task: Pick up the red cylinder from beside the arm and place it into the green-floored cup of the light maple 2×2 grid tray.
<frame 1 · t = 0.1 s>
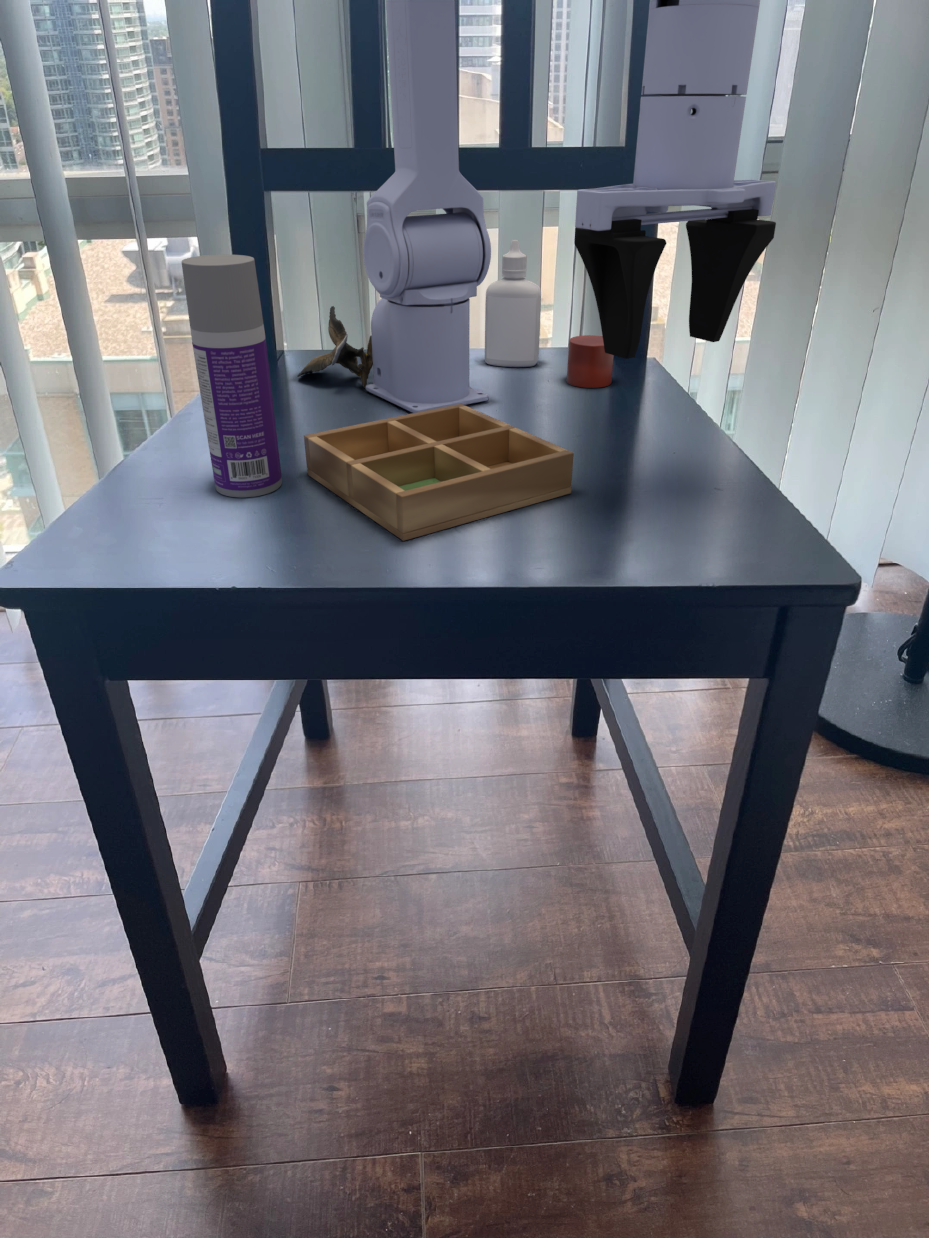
hand: (663, 346, 54), 10 cm above the table, tool pointing down, fingers open, 7 cm apart
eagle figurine: (341, 382, 85), on the table, touching arm
container: (249, 487, 61), on the table
eye dropper bottle: (511, 365, 90), on the table
grid: (436, 483, 61), on the table
red cylinder: (588, 382, 84), on the table
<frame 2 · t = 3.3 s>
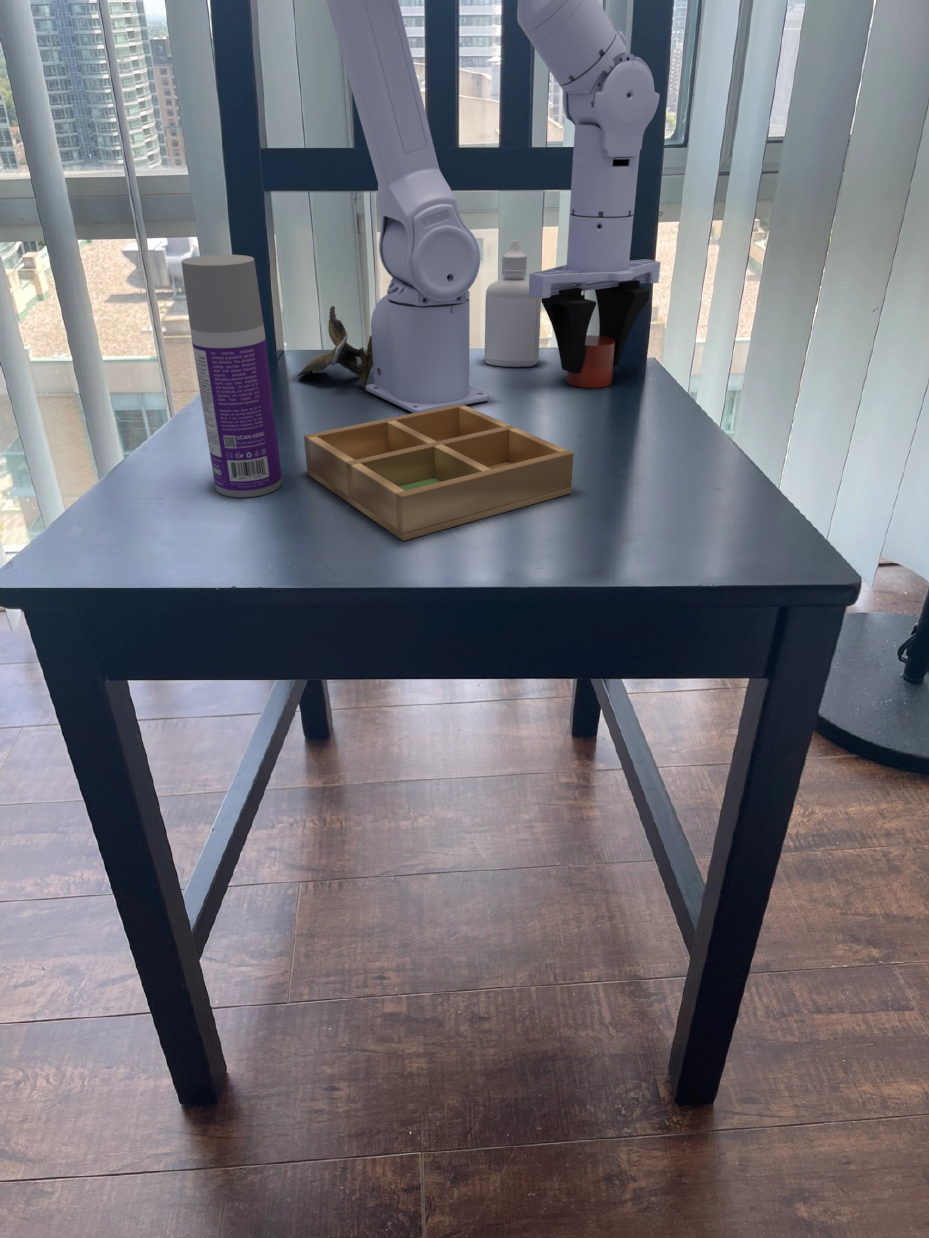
hand: (589, 367, 84), 1 cm above the table, tool pointing down, fingers closed on red cylinder, 4 cm apart
red cylinder: (589, 382, 84), on the table, touching gripper
everything else where it was.
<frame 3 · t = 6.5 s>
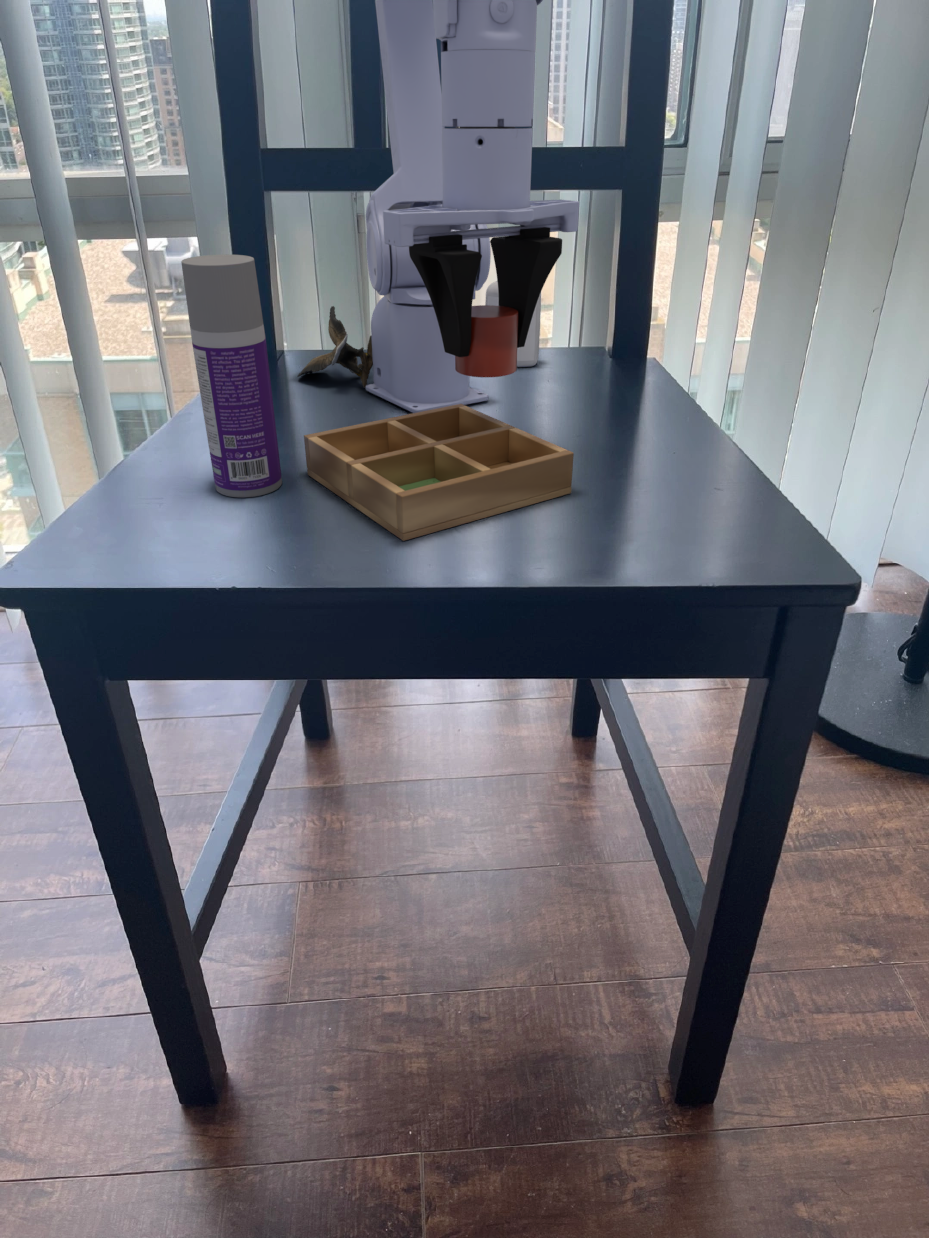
hand: (484, 349, 60), 8 cm above the table, tool pointing down, fingers closed on red cylinder, 4 cm apart
red cylinder: (485, 369, 61), point 7 cm above the table, touching gripper
everything else where it was.
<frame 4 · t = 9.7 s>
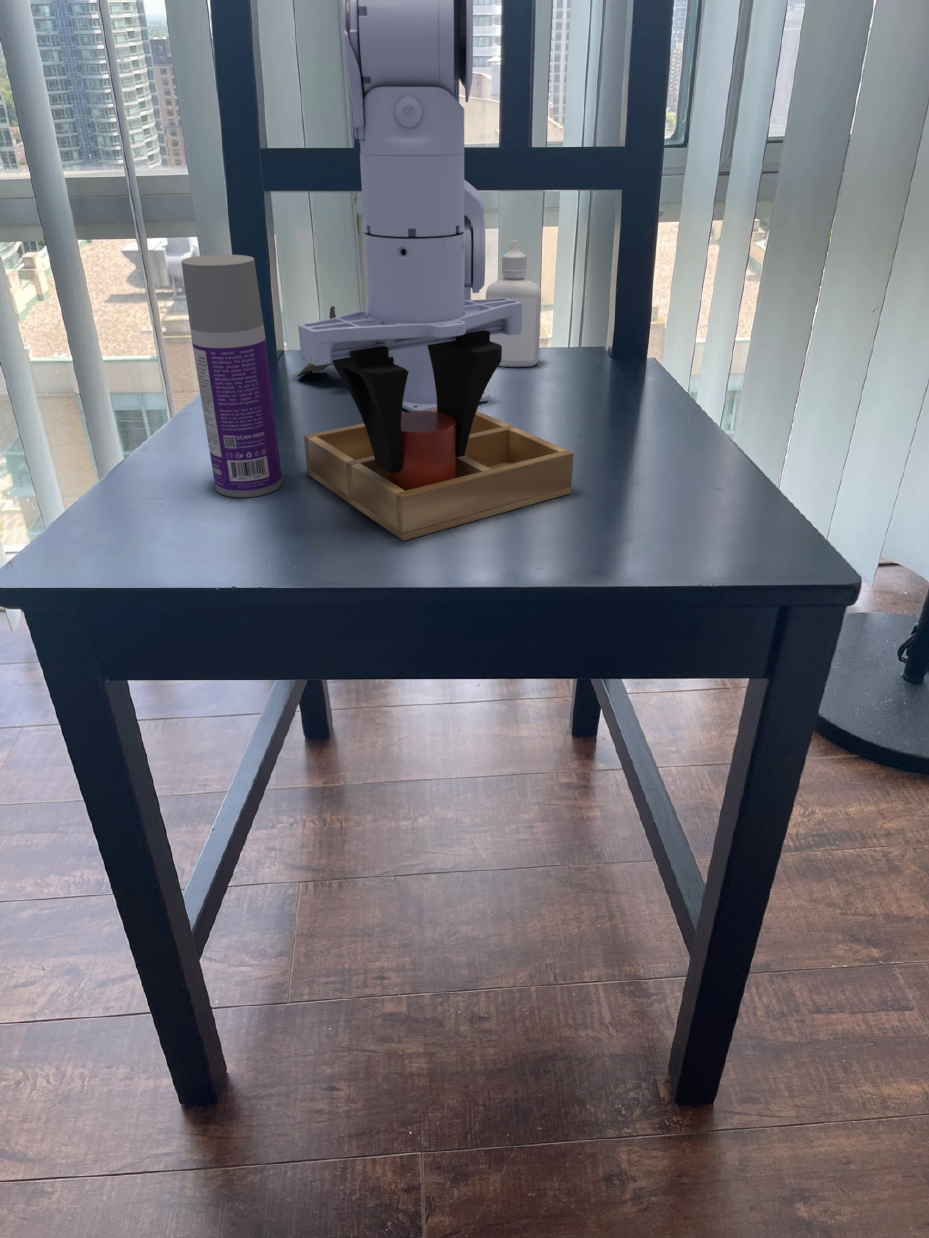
hand: (420, 460, 56), 3 cm above the table, tool pointing down, fingers closed on red cylinder, 4 cm apart
red cylinder: (422, 480, 56), point 2 cm above the table, touching gripper
everything else where it was.
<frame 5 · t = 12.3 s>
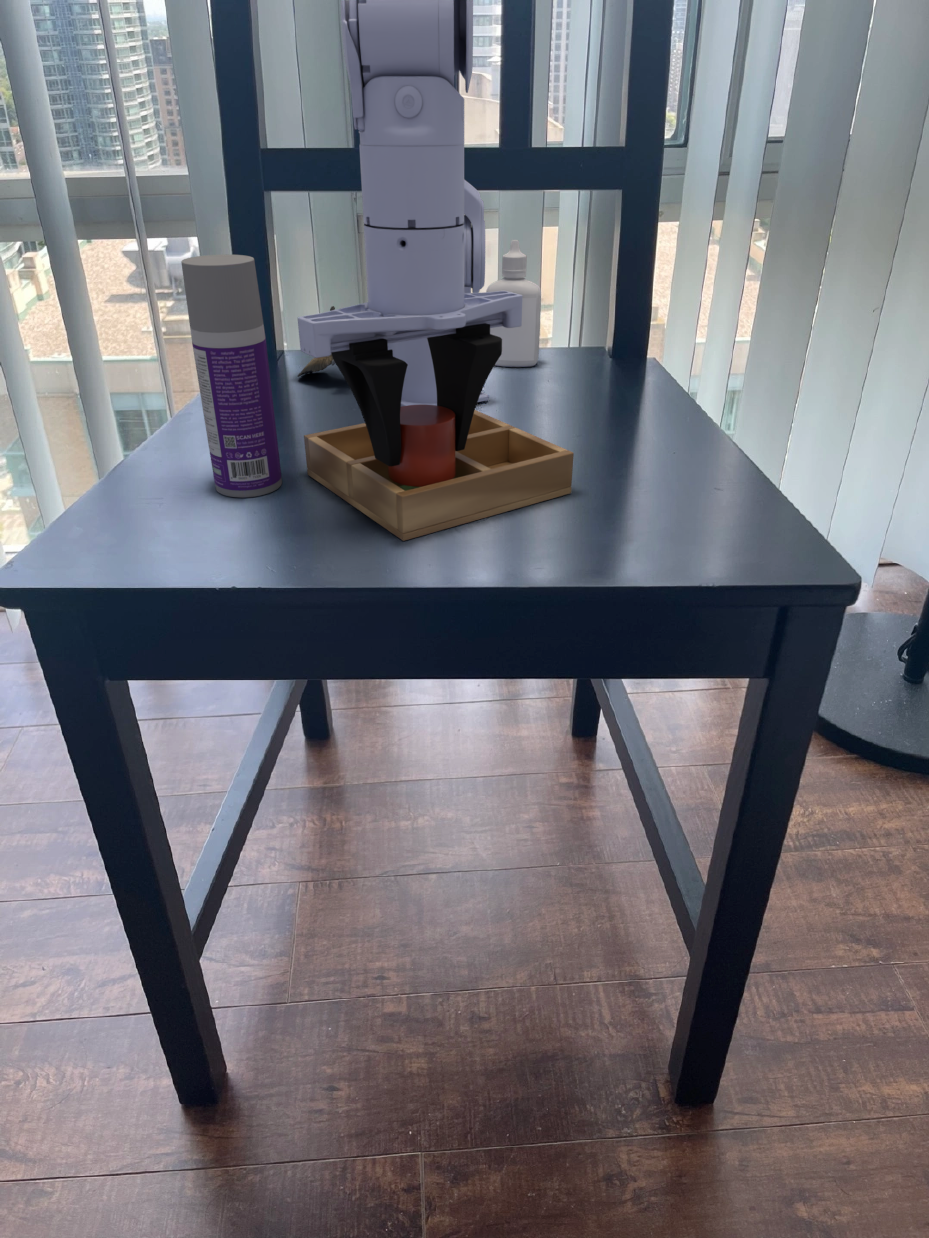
hand: (420, 453, 55), 4 cm above the table, tool pointing down, fingers closed on red cylinder, 4 cm apart
red cylinder: (422, 474, 56), point 3 cm above the table, touching gripper
everything else where it was.
when the fingers open (4 cm above the table, at t = 14.5 s): red cylinder drops 2 cm, resting on grid.
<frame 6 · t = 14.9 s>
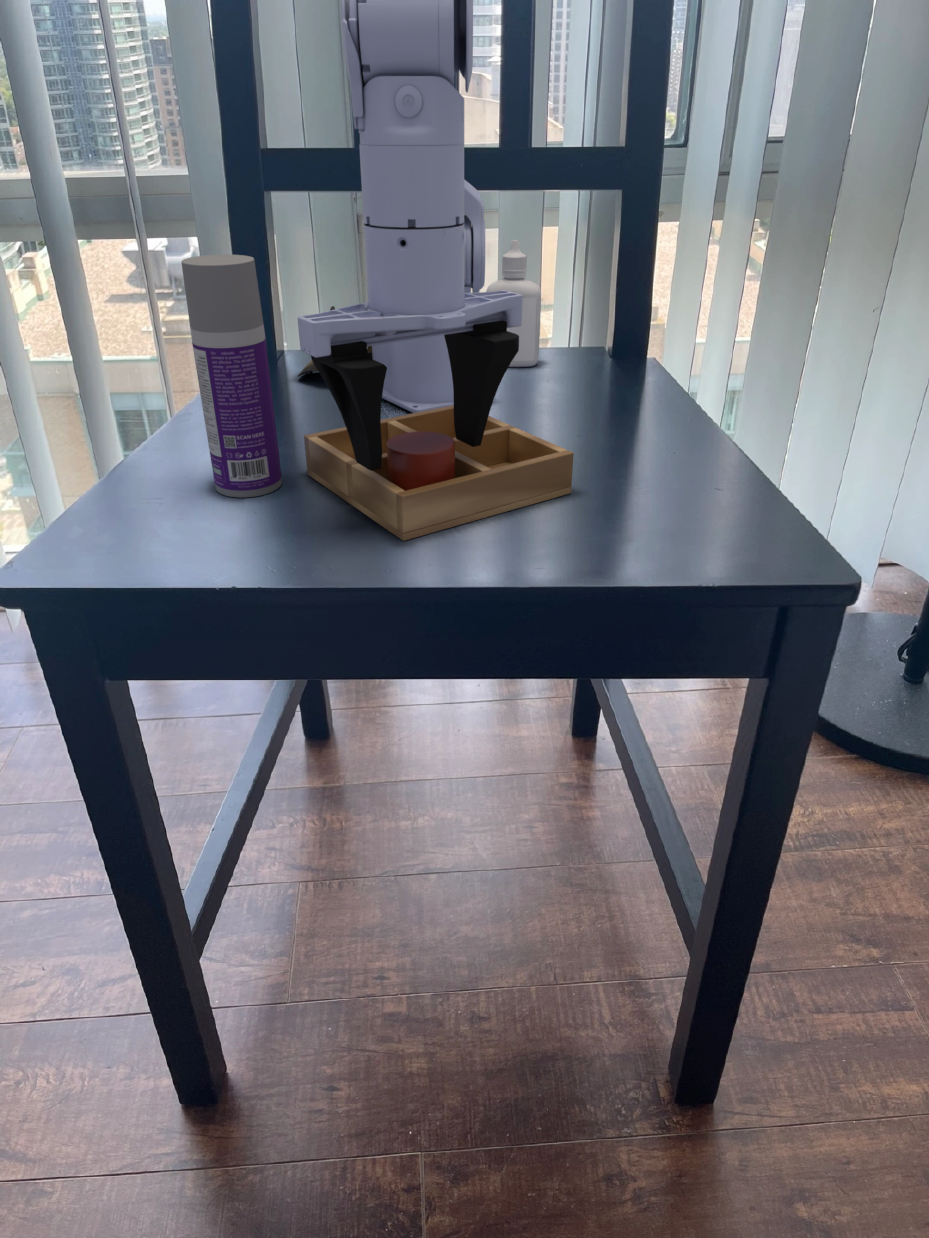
hand: (420, 453, 55), 4 cm above the table, tool pointing down, fingers open, 7 cm apart
red cylinder: (422, 500, 57), point 1 cm above the table, touching grid
everything else where it was.
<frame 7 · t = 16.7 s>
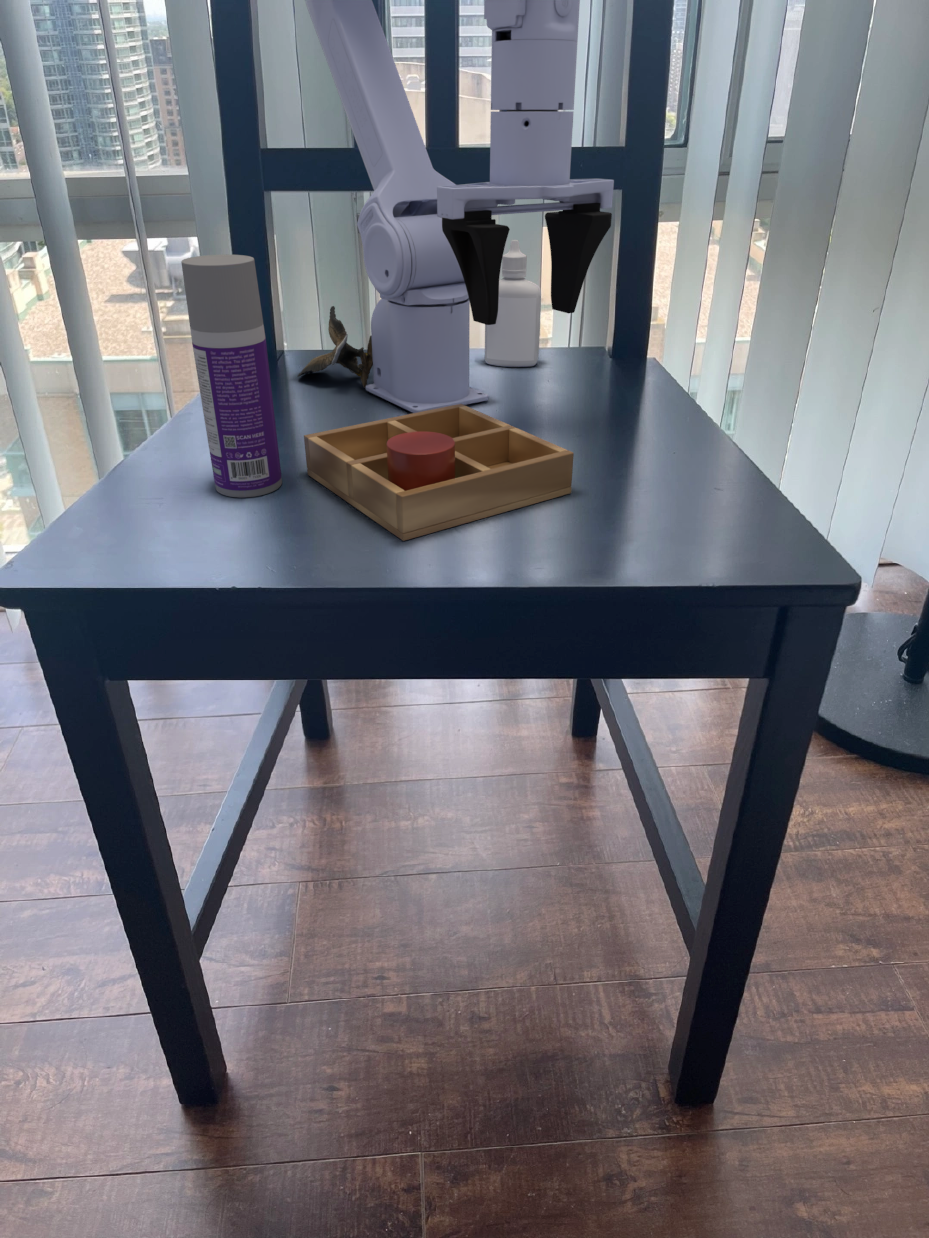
hand: (524, 316, 66), 9 cm above the table, tool pointing down, fingers open, 7 cm apart
nothing on the table moved.
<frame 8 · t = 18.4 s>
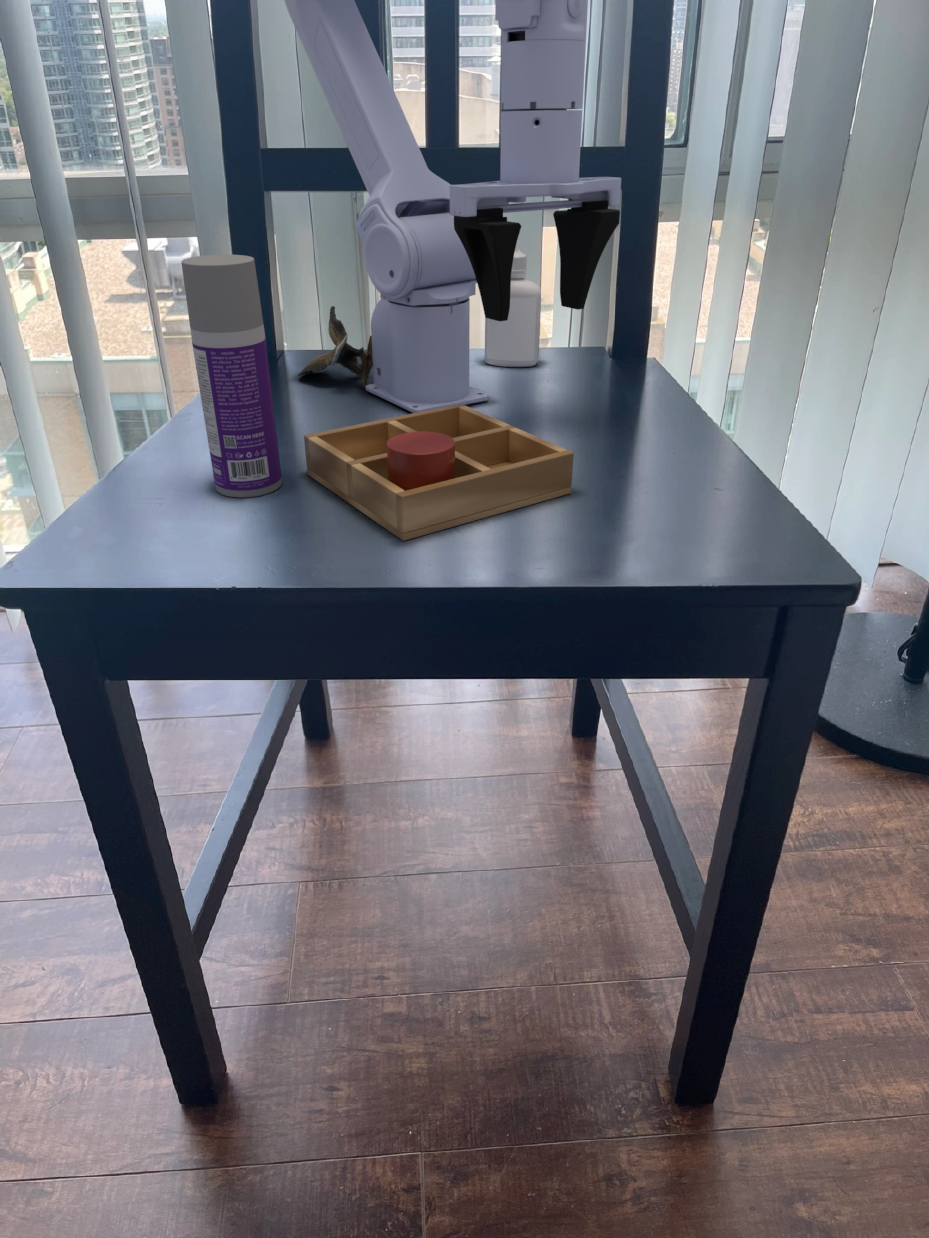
hand: (535, 313, 67), 9 cm above the table, tool pointing down, fingers open, 7 cm apart
nothing on the table moved.
at the end: red cylinder 0.2 cm from the target spot in the grid, point 0.7 cm above the grid's base; red cylinder tilted 0°; the gripper is holding nothing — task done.
